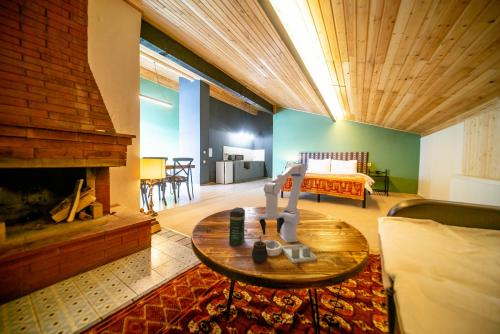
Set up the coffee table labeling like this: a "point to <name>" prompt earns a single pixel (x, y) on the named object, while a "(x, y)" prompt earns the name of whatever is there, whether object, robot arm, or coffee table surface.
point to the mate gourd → (259, 252)
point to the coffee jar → (237, 226)
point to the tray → (288, 253)
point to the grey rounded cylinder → (270, 244)
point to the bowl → (276, 250)
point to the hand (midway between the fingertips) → (271, 233)
